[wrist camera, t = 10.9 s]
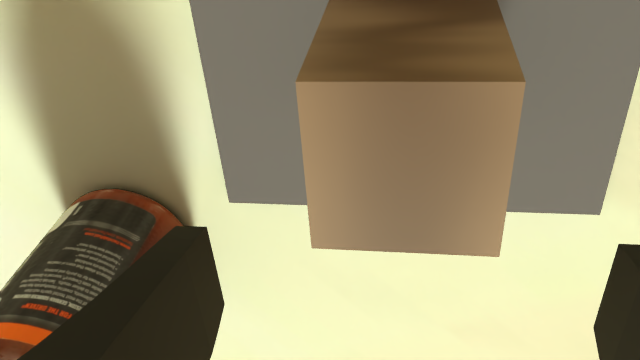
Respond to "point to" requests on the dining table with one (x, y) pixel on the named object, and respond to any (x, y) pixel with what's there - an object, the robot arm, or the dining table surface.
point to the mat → (536, 115)
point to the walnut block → (409, 126)
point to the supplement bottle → (77, 263)
